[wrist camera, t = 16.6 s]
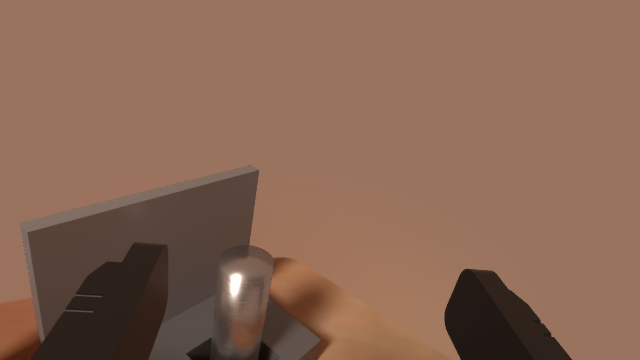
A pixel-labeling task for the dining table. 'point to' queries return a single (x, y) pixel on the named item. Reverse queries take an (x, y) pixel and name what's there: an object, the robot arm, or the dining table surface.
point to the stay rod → (241, 303)
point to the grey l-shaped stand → (183, 260)
